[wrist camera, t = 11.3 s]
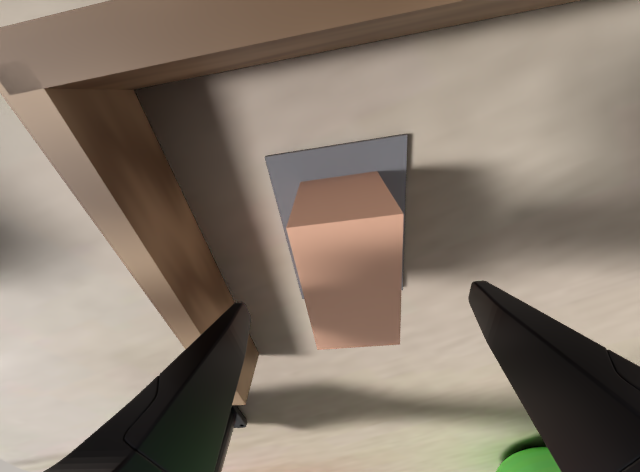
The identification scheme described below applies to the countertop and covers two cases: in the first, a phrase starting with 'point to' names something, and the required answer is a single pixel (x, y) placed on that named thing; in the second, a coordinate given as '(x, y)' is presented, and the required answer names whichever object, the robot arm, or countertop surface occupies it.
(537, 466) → the toy bird
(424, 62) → the countertop surface
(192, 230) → the wooden corner wall
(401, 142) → the mat
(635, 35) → the countertop surface
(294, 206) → the block
